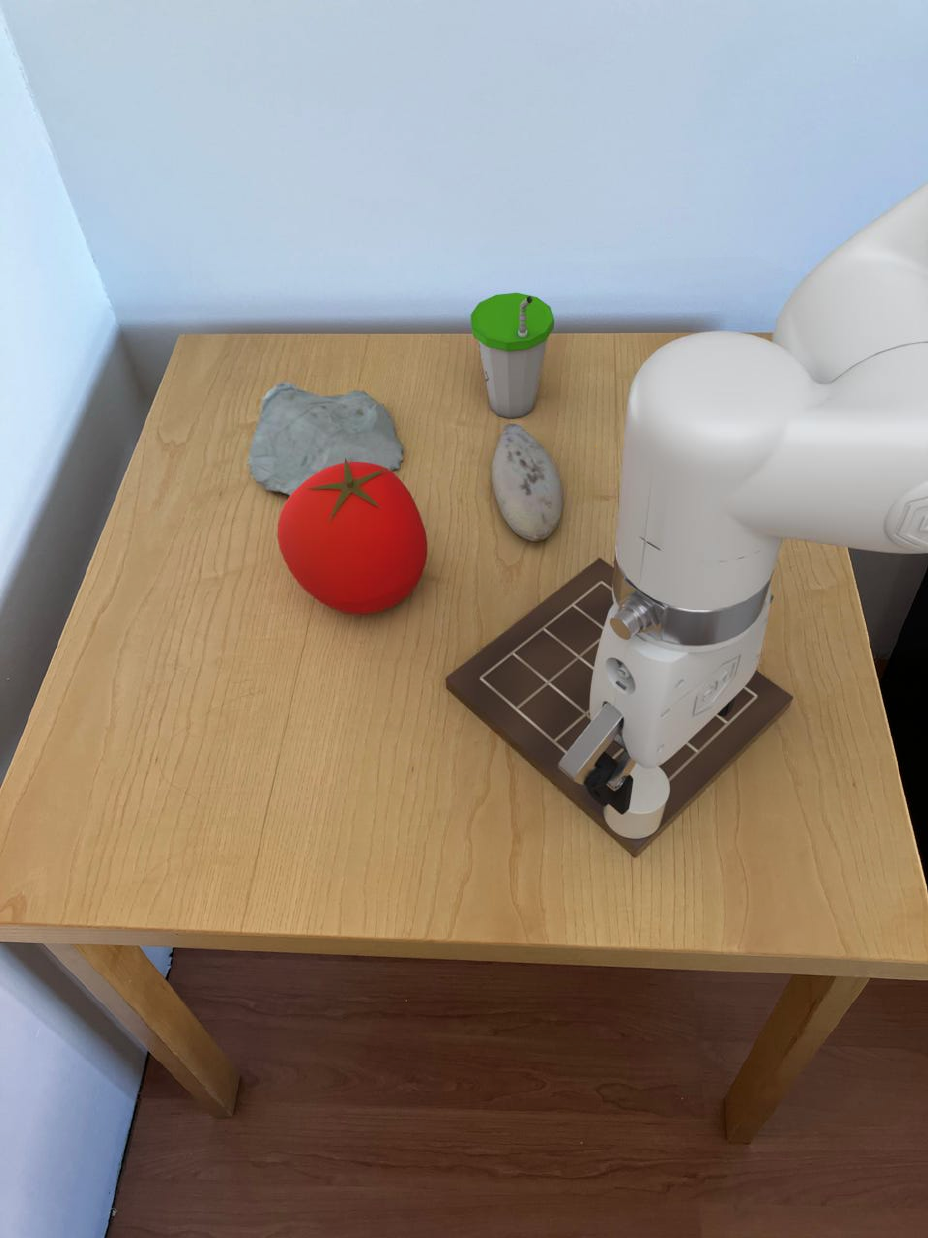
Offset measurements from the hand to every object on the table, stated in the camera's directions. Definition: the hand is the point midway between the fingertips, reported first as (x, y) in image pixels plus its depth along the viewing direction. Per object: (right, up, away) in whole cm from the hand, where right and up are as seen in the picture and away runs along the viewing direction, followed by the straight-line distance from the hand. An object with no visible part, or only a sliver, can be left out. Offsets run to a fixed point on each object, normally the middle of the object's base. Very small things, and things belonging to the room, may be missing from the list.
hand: (658, 747), depth 61 cm
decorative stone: (-7, +20, +29) cm, 36 cm away
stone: (-26, +24, +34) cm, 49 cm away
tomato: (-21, +11, +23) cm, 33 cm away
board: (0, +2, +15) cm, 15 cm away
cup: (-7, +30, +37) cm, 48 cm away
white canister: (0, -5, +7) cm, 9 cm away
